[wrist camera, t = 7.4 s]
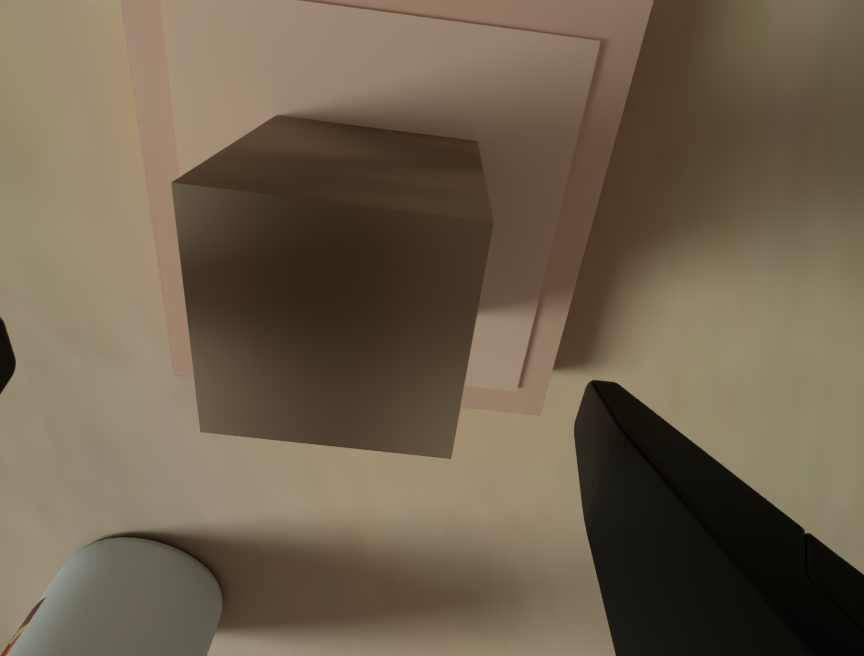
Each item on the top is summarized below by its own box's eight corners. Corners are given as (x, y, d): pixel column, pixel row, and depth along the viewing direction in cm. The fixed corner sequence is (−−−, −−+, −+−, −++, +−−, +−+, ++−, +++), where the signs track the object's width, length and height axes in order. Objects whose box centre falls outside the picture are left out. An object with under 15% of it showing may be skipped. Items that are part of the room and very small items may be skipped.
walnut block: (476, 141, 14) (493, 221, 9) (450, 315, 16) (450, 458, 11) (276, 115, 14) (170, 182, 9) (280, 295, 16) (200, 432, 11)
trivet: (624, -3, 15) (657, -4, 12) (530, 372, 21) (540, 419, 18) (161, -67, 14) (104, -81, 12) (203, 335, 20) (170, 378, 18)
